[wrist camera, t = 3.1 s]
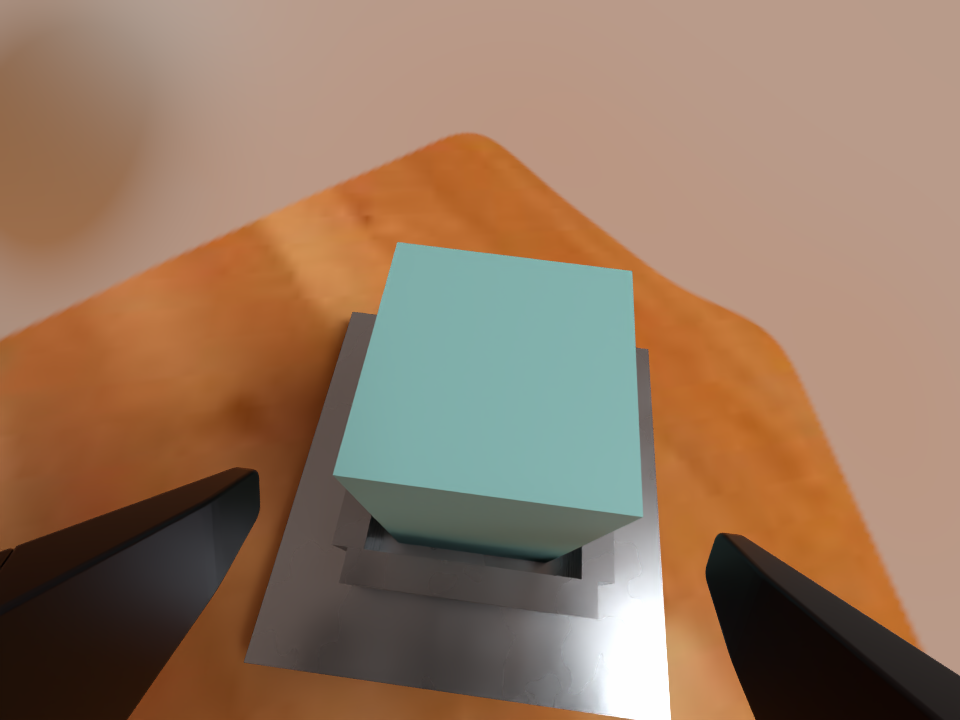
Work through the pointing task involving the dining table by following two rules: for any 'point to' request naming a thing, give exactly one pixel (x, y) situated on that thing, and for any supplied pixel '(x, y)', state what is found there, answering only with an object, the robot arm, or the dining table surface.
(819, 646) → the robot arm
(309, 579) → the socket holder
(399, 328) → the teal block
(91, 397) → the dining table surface
